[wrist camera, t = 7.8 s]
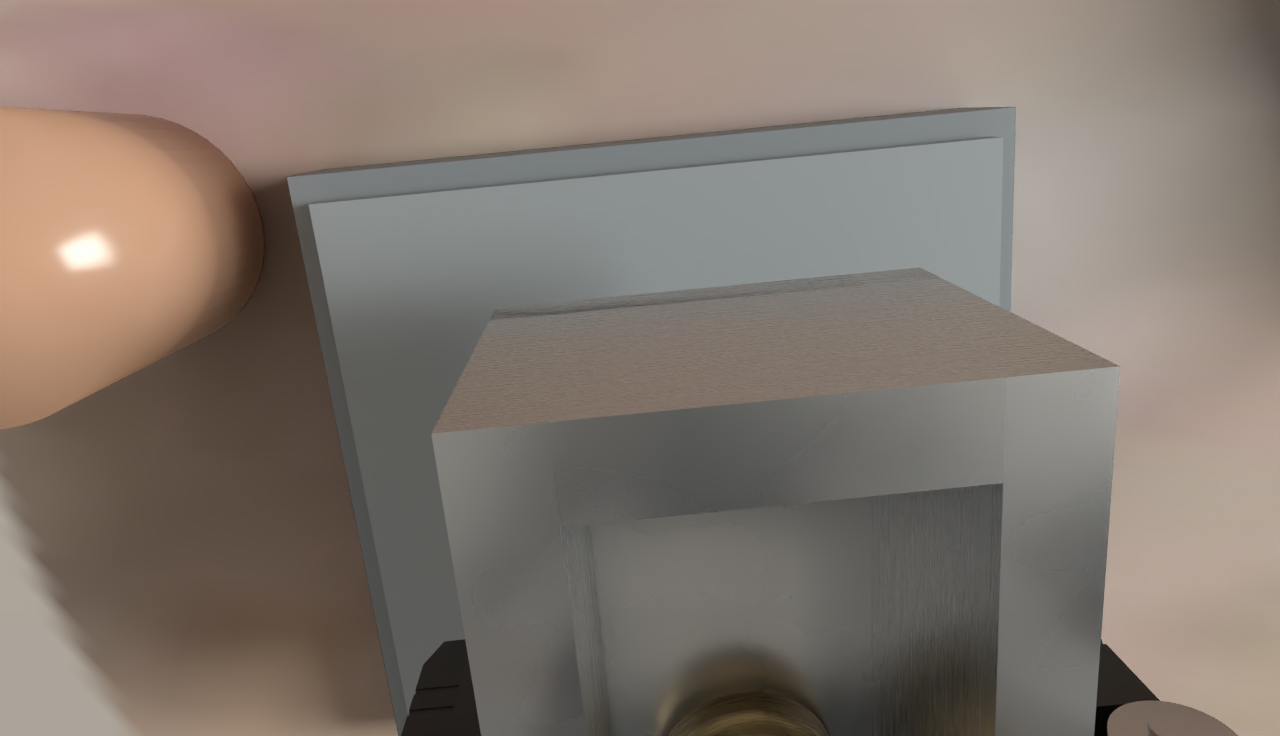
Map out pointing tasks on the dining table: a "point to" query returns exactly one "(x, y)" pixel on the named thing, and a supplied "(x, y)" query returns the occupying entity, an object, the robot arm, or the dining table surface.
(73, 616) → the dining table surface
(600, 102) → the dining table surface
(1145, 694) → the robot arm
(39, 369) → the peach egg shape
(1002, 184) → the plinth
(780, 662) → the housing
